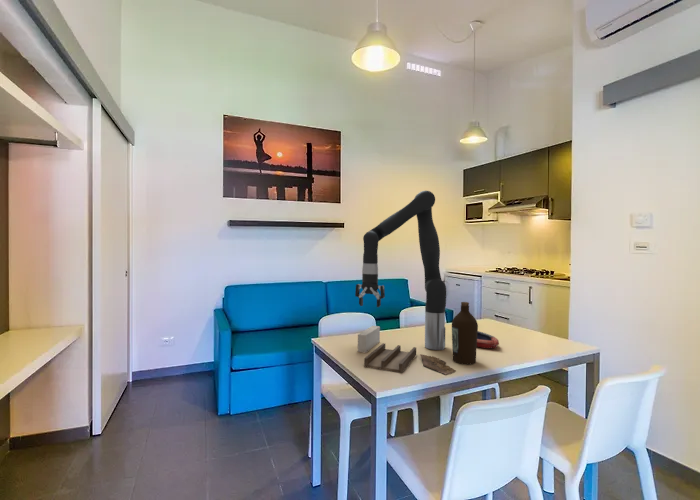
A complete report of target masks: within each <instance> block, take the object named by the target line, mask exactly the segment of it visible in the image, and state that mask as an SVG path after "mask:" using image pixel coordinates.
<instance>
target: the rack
mask: <svg viewBox="0 0 700 500" xmlns="http://www.w3.org/2000/svg"><path fill="white" fill-rule="evenodd" d="M416 356H417V347H415V346H414V347H412V349H411V350H410V351H402V350H401V345H397V346H395V348H393V349H388V348H386V343H381V344H380V345H379V346H378V347H376V348H375V349H374V350H373V351H371V352H370V353H369V354H367V355H366V356H365V357H364V359H363V367H364V368H368V369H376V370H380V371H381V370H382V371H387V372H394V373H401V374H402V373H403V372H405V370H406V369H407V368H408V366H409V365H410V364H411V362H412V361H413V360H414V358H416Z"/></svg>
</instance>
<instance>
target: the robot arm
mask: <svg viewBox="0 0 700 500" xmlns="http://www.w3.org/2000/svg"><path fill="white" fill-rule="evenodd" d="M435 202H436V196H435V194H434V193H433V192H432V191H430V190H422V191H420V192H418V193H417V194H416V195H415V197H414V198H413V199H412V200H411V201H410V202H408V204H407V205H405V206H403V207H402V208H401V209H399V210H397V211H396V212H394V213H393V214H391V215H389V216H388V217H387V218H385V219H383V221H381V222H380V223H379V224H377V225H376V226H375V227H373V228H372V229H369V231H367V232H365V233H364V235H363V236H362V237H363V238H362V239H363V255H362V267H361V269H362V271H361V272H362V275H361V276H362V277H361V278H362V279H361V281H362V282H361V283H362V284H360V283H358V284H355V293H354V295H355V297H357V298H358V305H359V306H360V307H363V306H364V296H365V295H369V294H370V295H373V296H374V297H375V298H376V308H380V307H381V304H382V303H381V302H382V299H385V291H386V290H385V285H384V284H382V285H379V266H378V257H379V255H378V250H379V242H380V241H381V240H382V239H383V238H385V237H388V236H389V235H391V234H393V233H394V232H395V231H396V230H398V229H400V228H401V227H402V226H403V225H404V224H405V223H407V222H409V220H411V219H412V218H413V217H415V216H416V218H417V228H418V229H417V230H418V243H419V249H420V255H421V261H422V265H423V271H424V290H425V292H426V294H425V295H426V299H425V301H426V302H425V306H424V307H425V310H424V314H425V315H424V348H426V349H429V350H433V351H435V350H436V351H441V350H442V351H444V349H445V348H446V326H445V324H446V306H447V285H446V283H445V282H444V281H443V279H442V276H441V271H440V257H441V256H440V255H441V250H440V241H439V235H438V232H437V228H436V226H435V224H434V220H433V219H434V218H433V207H434V206H435ZM360 289H362V291H361V290H360ZM378 289H379V291H380V293H379V291H378ZM360 291H361V292H360Z"/></svg>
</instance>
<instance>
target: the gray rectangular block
mask: <svg viewBox="0 0 700 500" xmlns="http://www.w3.org/2000/svg"><path fill="white" fill-rule="evenodd" d="M380 333H381V327H380V326H378V325H370V327H368V328H366V329H364V330H363V331H362V332H360V333H358V334H357V352H358V353H364V354H366V353H368V352H369V351H370V350H371V349H373V348H374V347H375V346H376V345H378V344H379V343H380V341H381V340H380V339H381V338H380V337H381V334H380Z"/></svg>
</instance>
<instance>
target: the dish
mask: <svg viewBox="0 0 700 500" xmlns="http://www.w3.org/2000/svg"><path fill="white" fill-rule="evenodd" d="M499 345H500V342H499V339H498V338H497V337H495V336H494V335H492V334H489V333H487V332H482V331H479V330H478V333H477V348H482V349H496V348H498V346H499Z"/></svg>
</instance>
